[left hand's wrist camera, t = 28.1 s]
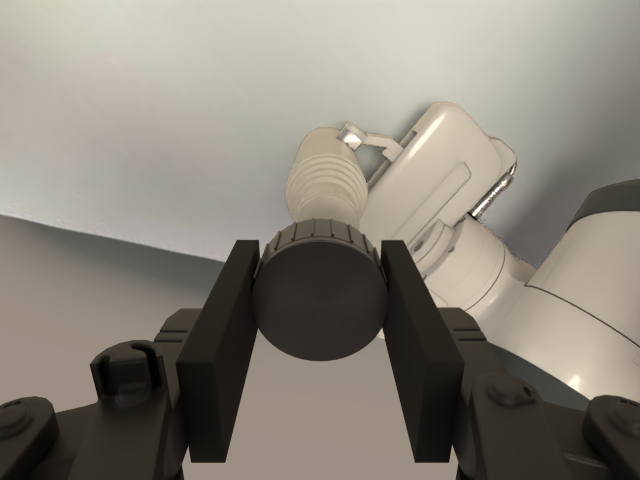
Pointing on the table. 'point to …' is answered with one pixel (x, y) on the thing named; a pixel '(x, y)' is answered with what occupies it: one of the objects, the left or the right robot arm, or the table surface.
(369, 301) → the cap
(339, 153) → the bottle
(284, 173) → the table surface
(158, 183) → the table surface
